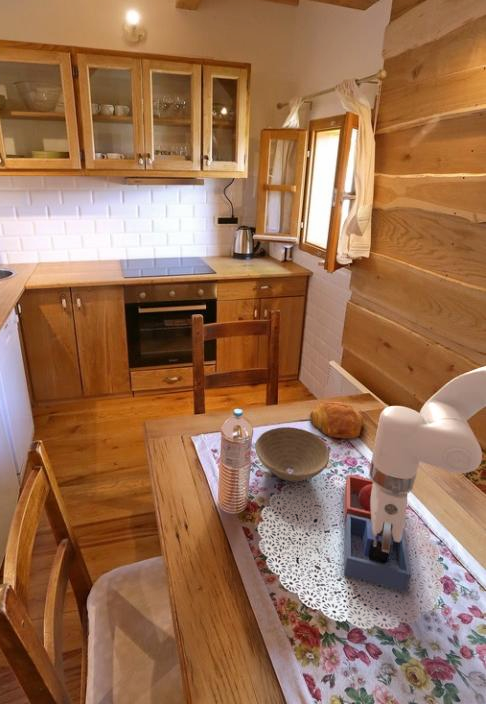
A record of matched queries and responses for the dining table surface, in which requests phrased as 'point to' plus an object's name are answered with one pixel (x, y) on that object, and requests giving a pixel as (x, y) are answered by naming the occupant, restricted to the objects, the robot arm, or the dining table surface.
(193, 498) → the dining table surface
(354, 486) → the terracotta bin
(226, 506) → the water bottle
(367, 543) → the blue block
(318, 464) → the bowl
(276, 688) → the dining table surface
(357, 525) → the blue bin
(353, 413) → the croissant
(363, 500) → the onion
